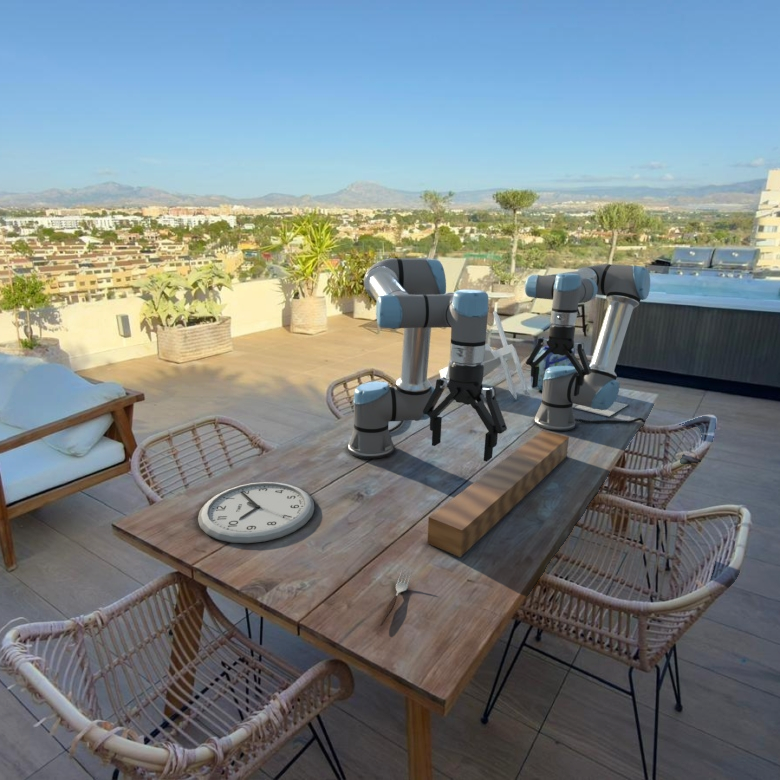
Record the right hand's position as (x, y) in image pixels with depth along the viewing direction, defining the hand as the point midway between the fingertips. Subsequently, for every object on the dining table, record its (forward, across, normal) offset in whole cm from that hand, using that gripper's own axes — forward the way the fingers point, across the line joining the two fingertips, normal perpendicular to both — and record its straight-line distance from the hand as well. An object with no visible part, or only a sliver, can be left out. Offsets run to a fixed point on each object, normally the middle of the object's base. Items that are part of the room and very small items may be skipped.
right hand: (555, 390), depth 167 cm
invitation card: (+24, -1, +67) cm, 71 cm away
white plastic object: (+24, -52, +51) cm, 77 cm away
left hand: (0, 0, -61) cm, 61 cm away
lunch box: (+24, -28, +80) cm, 88 cm away
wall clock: (+24, -48, -82) cm, 98 cm away
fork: (+24, +1, -88) cm, 91 cm away
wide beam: (+24, 0, -30) cm, 38 cm away
